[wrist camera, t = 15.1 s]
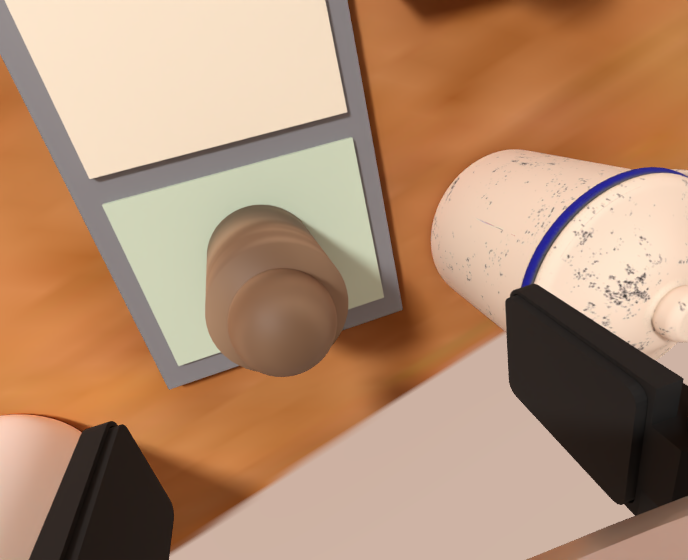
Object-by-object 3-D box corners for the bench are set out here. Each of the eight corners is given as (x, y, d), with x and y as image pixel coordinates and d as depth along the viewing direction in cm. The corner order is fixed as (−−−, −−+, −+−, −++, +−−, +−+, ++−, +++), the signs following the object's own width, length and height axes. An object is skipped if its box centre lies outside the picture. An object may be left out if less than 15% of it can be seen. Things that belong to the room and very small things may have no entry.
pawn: (299, 191, 20) (354, 247, 12) (324, 287, 22) (384, 386, 14) (190, 221, 19) (176, 302, 12) (227, 318, 21) (235, 440, 14)
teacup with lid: (453, 325, 27) (605, 470, 16) (399, 196, 23) (557, 282, 12) (616, 228, 27) (861, 310, 17) (593, 85, 23) (899, 80, 13)
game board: (225, -630, 12) (226, -693, 11) (397, 303, 25) (404, 312, 24) (-336, -641, 10) (-394, -720, 9) (170, 380, 23) (168, 393, 22)
